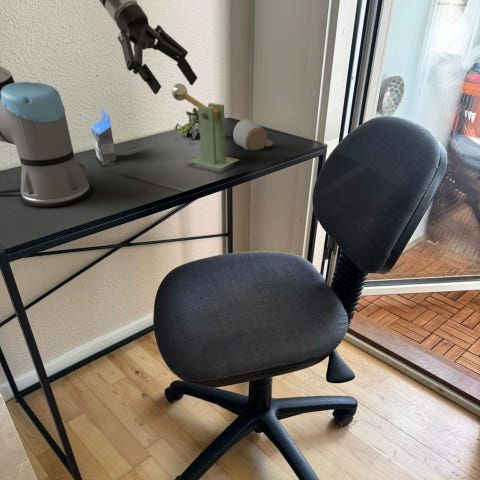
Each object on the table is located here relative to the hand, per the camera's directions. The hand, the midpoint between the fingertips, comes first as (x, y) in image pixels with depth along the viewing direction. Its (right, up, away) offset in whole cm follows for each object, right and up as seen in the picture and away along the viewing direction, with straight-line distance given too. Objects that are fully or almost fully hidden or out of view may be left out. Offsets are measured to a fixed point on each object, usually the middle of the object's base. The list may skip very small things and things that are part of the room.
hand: (176, 86), depth 121 cm
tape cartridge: (-21, -16, +10) cm, 28 cm away
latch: (+4, -6, +1) cm, 7 cm away
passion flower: (+4, -5, +24) cm, 25 cm away
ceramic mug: (+20, -10, +16) cm, 28 cm away
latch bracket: (+9, -18, +6) cm, 21 cm away
